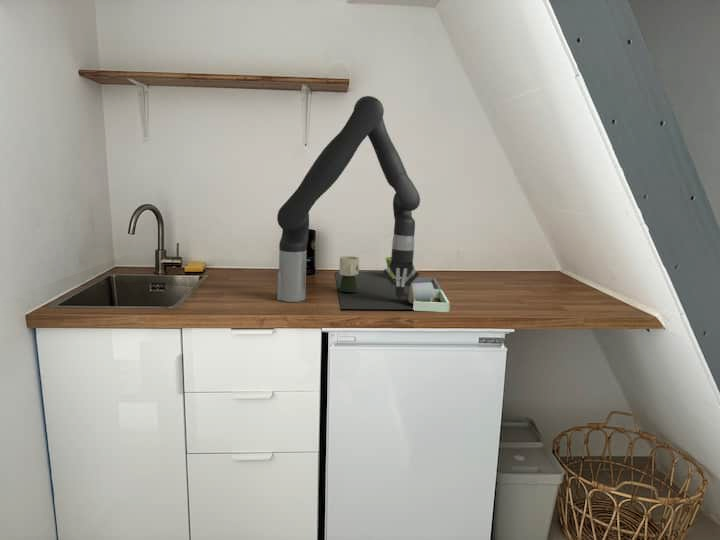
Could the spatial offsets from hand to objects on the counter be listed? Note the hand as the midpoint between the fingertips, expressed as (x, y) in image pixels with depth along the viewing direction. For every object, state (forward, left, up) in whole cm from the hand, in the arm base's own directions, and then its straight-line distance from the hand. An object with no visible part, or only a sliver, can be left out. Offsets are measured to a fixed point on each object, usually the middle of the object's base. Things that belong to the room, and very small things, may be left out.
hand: (399, 296), depth 184 cm
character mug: (-18, +12, -2) cm, 22 cm away
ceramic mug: (+8, -2, -2) cm, 8 cm away
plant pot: (+1, +40, -2) cm, 40 cm away
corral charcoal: (+10, +20, -2) cm, 23 cm away
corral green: (+10, 0, -2) cm, 10 cm away
